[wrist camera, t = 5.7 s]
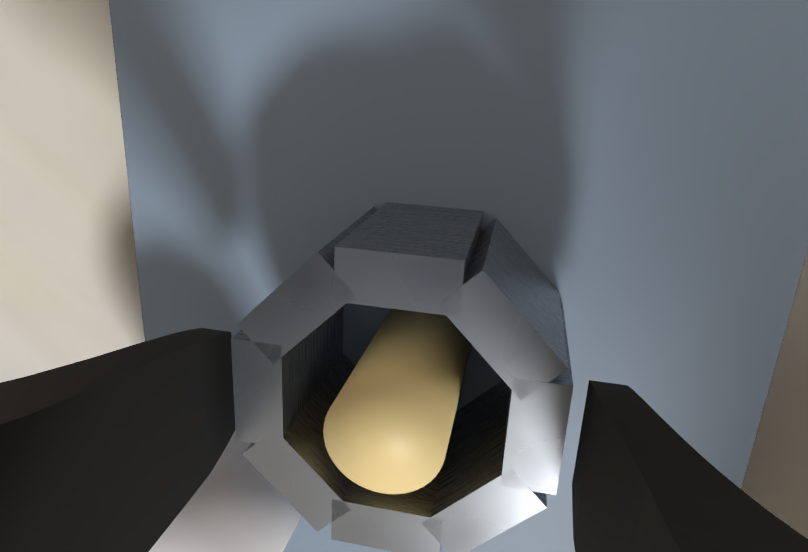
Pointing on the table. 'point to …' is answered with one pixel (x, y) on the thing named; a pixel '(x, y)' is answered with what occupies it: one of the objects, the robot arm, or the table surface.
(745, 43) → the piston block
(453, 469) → the ring
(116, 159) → the table surface
